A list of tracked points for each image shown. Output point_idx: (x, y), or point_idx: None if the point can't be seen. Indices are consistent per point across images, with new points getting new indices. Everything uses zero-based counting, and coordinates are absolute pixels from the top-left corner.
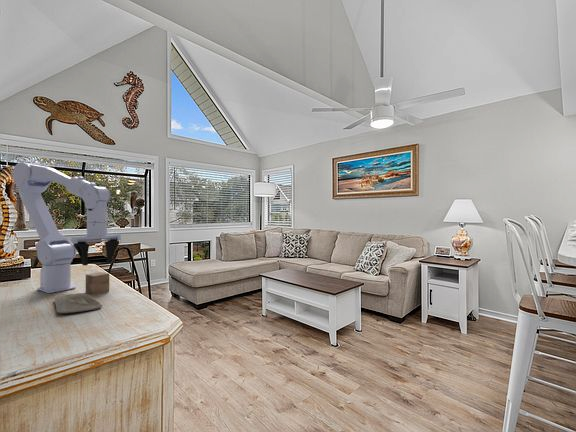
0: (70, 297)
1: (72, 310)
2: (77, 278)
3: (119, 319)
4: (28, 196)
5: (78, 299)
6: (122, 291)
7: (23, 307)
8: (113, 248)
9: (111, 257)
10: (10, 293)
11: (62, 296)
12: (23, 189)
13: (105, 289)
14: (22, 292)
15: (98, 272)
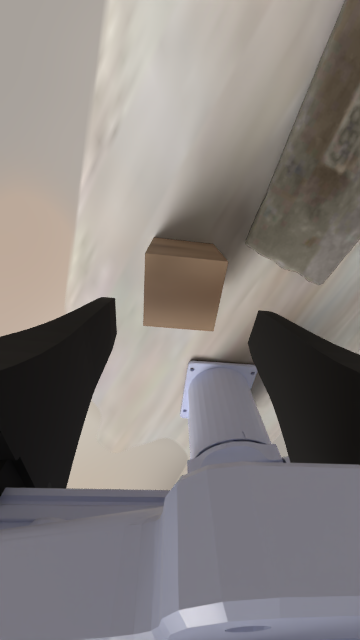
0: (328, 211)
1: None
2: (122, 445)
3: None
4: None
5: (347, 145)
6: (124, 180)
7: None
8: (44, 338)
9: (98, 304)
10: (279, 424)
11: (324, 251)
12: None
13: (168, 240)
14: (265, 416)
15: (158, 325)
